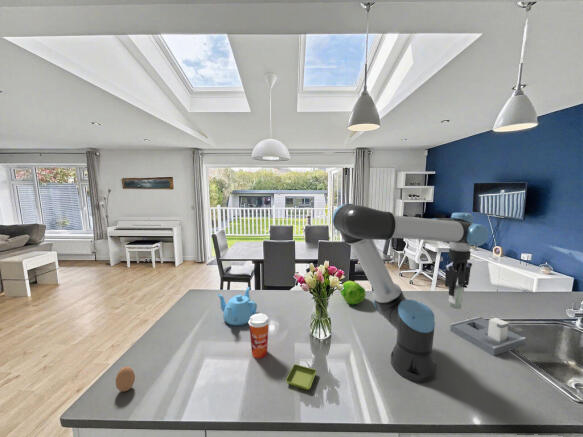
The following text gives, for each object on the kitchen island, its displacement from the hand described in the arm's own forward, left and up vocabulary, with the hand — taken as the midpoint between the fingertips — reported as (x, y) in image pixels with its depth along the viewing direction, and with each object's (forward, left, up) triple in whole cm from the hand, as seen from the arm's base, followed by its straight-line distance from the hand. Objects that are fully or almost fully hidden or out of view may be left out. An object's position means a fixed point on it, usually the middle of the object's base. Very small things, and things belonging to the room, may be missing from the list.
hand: (455, 301), depth 104 cm
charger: (+14, -9, -17) cm, 24 cm away
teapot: (-88, +48, -17) cm, 102 cm away
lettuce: (-22, +46, -17) cm, 54 cm away
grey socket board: (+14, -5, -17) cm, 22 cm away
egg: (-128, +15, -17) cm, 130 cm away
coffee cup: (-83, +18, -17) cm, 87 cm away
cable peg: (0, 0, -2) cm, 2 cm away
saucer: (-72, 0, -17) cm, 74 cm away
